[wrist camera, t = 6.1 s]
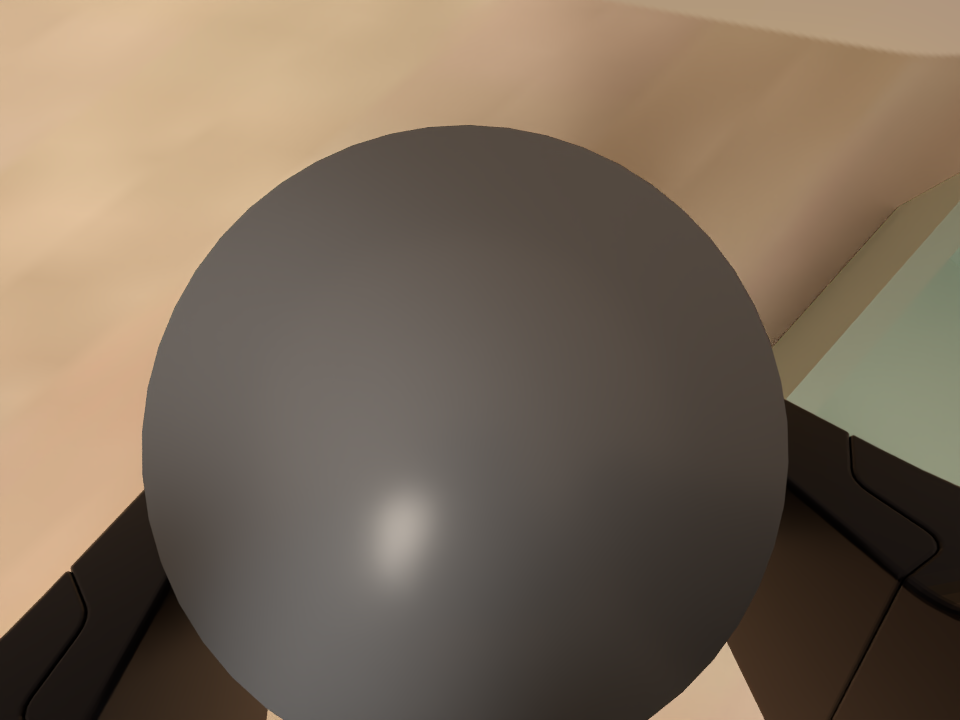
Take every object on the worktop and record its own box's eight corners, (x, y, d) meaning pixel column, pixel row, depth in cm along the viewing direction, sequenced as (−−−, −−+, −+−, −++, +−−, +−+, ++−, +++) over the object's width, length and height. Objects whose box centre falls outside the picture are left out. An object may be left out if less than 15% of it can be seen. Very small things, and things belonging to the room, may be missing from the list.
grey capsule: (596, 447, 16) (913, 419, 5) (454, 601, 15) (481, 937, 5) (451, 308, 16) (467, 11, 6) (306, 452, 16) (-1, 432, 5)
